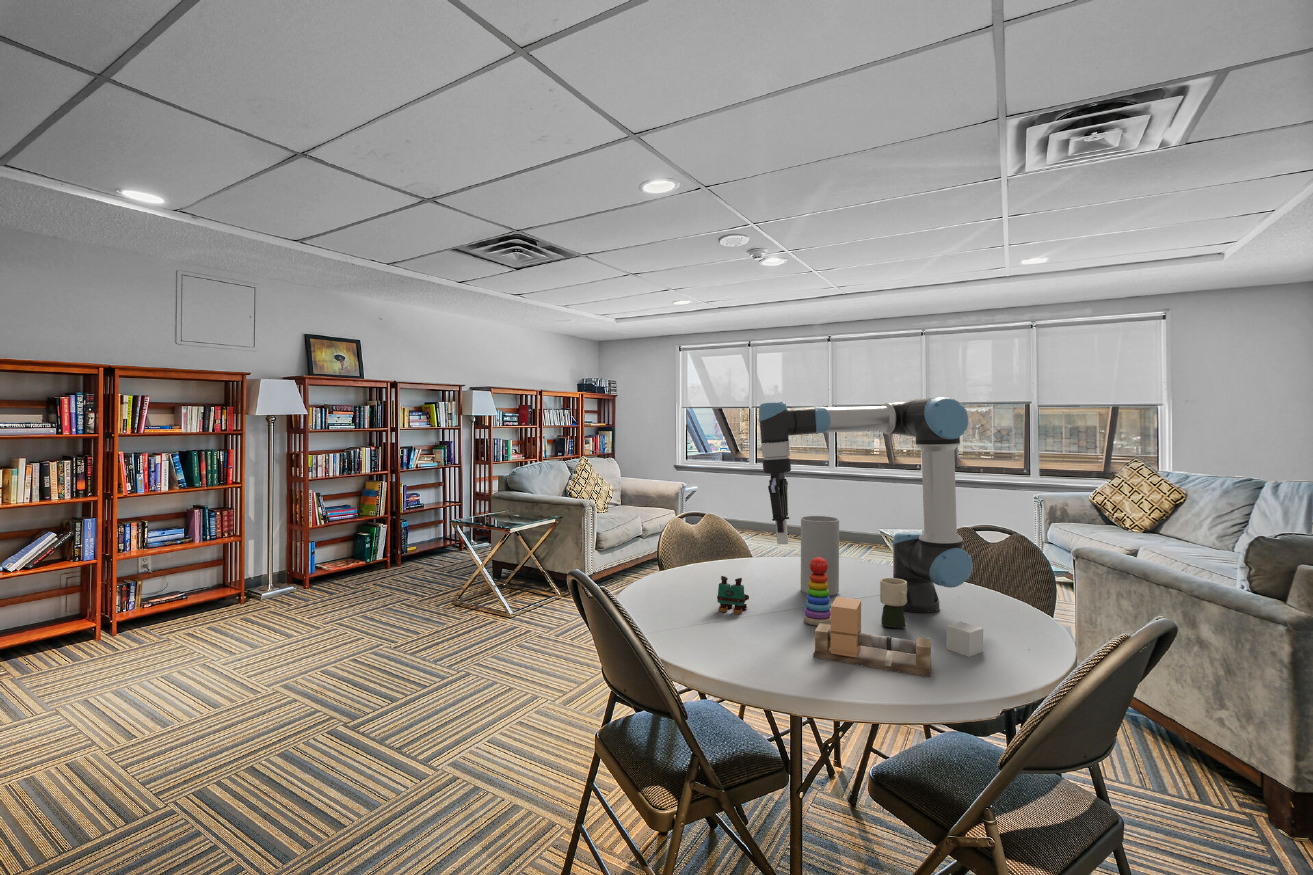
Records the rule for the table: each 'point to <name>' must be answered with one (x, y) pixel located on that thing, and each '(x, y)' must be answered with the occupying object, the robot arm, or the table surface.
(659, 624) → the table surface
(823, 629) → the pipe stand
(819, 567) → the stacking toy
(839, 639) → the wooden block
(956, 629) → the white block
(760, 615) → the table surface
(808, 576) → the cylinder vase
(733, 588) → the binoculars
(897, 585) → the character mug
